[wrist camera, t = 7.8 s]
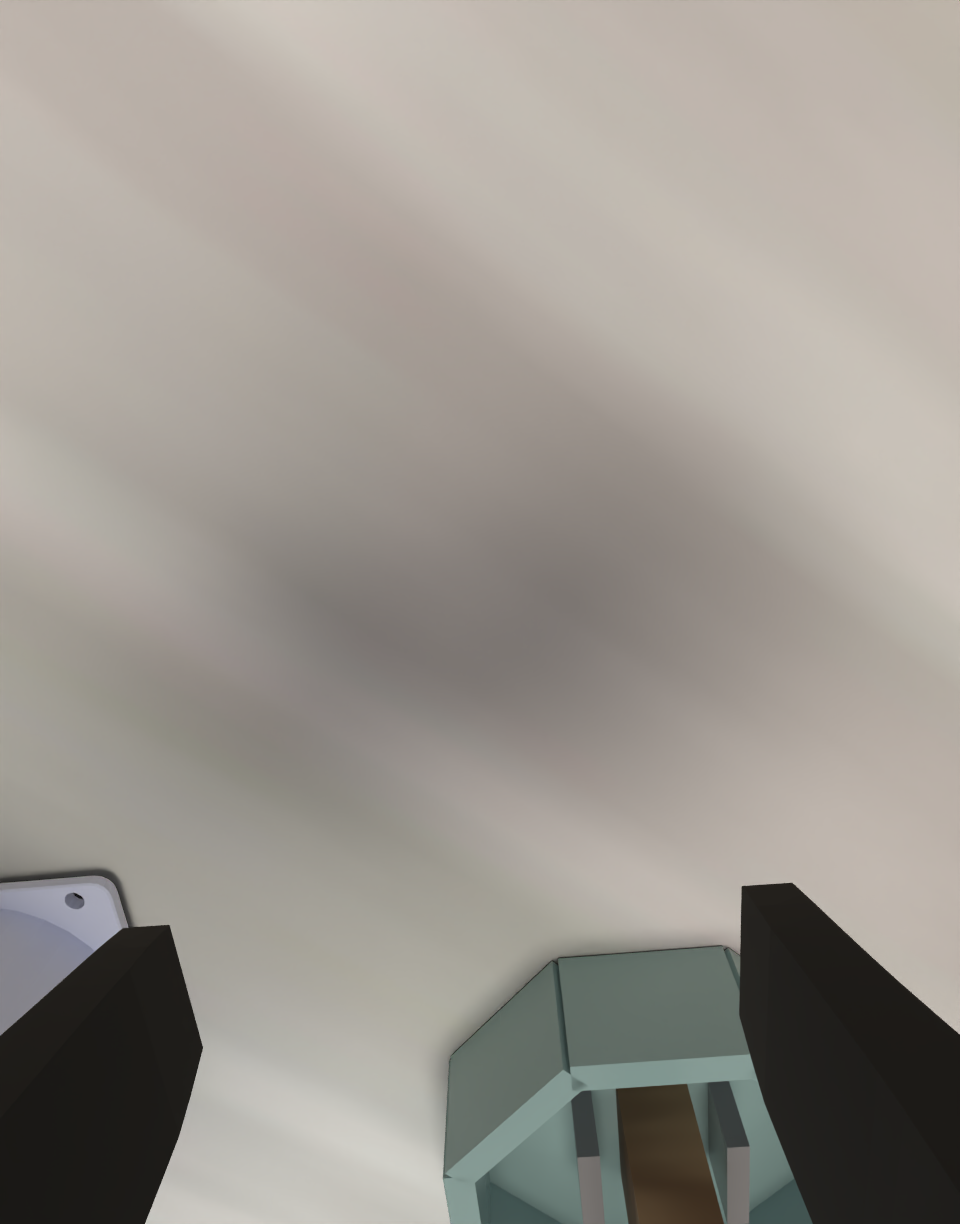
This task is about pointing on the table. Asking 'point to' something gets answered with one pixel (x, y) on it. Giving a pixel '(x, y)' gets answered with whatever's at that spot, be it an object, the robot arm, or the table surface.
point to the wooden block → (663, 1158)
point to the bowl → (608, 1092)
